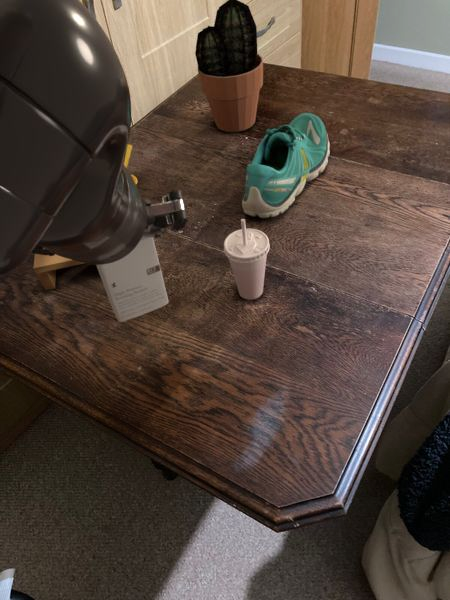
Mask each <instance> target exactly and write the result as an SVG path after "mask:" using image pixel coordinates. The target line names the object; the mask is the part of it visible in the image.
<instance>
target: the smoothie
mask: <svg viewBox="0 0 450 600" xmlns="http://www.w3.org/2000/svg"><path fill="white" fill-rule="evenodd" d="M240 224H241V225H240V227H241V229H237V230H235V231H233V232H231V233H229V234H228V235H227V236H226V238H225V240H224V241H223V251H224V254H225V256H226V257H227V258H228V262H229V265H230V268H231V271H232V275H233V278H234V281H235V284H236V288H237V291H238V294H239V296H240V297H241V298H242V299H244V300H247V301H248V300H256V299H259V297H261V296H262V295H263V292H264V284H265V274H266V265H267V256H268V253H269V251H270V249H271V248H270V246H271V245H270V239H269V237H268V235H267V234H266V233H264V232H263V231H262V230H259V229H257V228H247V226H246V219H245V218H241V219H240Z"/></svg>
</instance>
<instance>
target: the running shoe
mask: <svg viewBox="0 0 450 600" xmlns="http://www.w3.org/2000/svg"><path fill="white" fill-rule="evenodd" d="M330 145H331V144H330V141H329V135H328V132H327V129H326V127H325V124H324V122H323V121H322V119H321V118H320V117H319V116H318V115H316V114H314V113H310V112H303V113H301V114H298V115H297V116H295V117H294V118H293V119H292V120H291V121H290V122H289V123H288V124H282V125H281V126H278V128H272V129H270V128H266V130H265V135H264V137H263V138H262V140H261V141H260V142H259V144H258V146H257V148H256V152H255V154H254V156H253V159H252V161H251V163H249V164H248V165H247V166H246V176H245V183H244V192H245V193H244V195H243V198H242V201H241V208H242V210H243V213H244V214H245V215H248V216H249V217H251V218H255V217H257V216H258V218H260V219H263V220H264V219H269V218H272V219H273V218H276V217H278V215H282V214H284V212H287V211H288V209H289V208H290V207H292V204H294V202H295V200H296V197H297V196H299V195H300V194H301V193H302V192H303V190H304V187H305V186H306V183H309V182H310V181H313V180H314V179H316V178H317V177H318V176H319V174H321V173H323V171H324V170H325V169H326V167H327V165H328V163H329V159H328V158H329V157H330V153H331V149H330Z"/></svg>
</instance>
